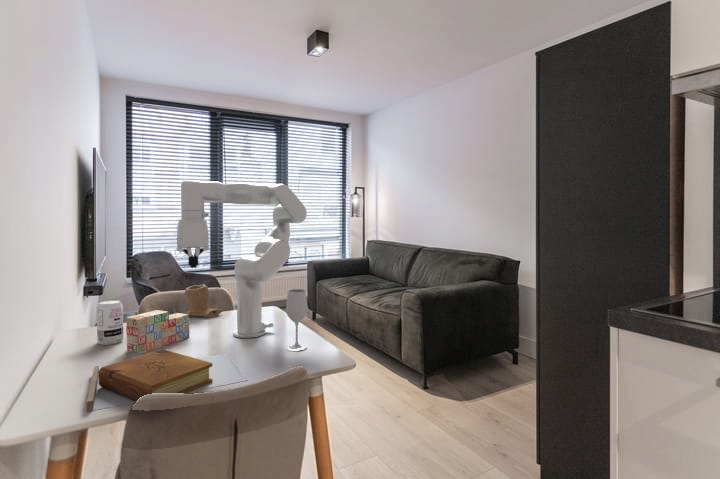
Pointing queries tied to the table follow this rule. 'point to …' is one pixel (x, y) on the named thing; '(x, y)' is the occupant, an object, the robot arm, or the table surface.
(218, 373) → the display board
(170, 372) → the diary
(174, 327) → the stack of blocks
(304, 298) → the wineglass
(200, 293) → the stone cup
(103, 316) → the supplement can
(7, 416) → the table surface
